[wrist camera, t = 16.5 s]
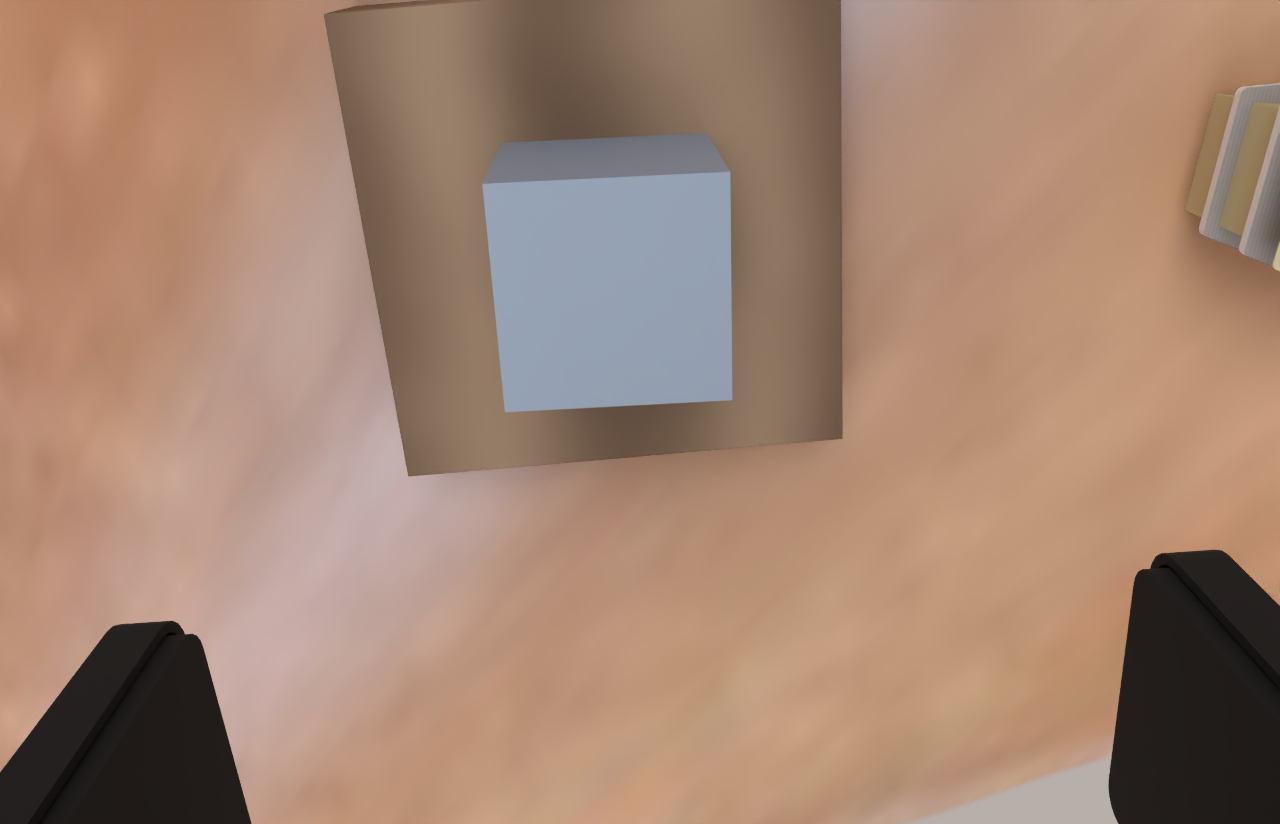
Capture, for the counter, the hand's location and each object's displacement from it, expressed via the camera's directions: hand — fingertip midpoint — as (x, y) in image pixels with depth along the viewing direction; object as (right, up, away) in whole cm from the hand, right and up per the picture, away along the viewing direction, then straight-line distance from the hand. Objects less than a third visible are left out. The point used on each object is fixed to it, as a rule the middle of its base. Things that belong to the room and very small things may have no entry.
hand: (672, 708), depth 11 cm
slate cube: (-1, +7, +17) cm, 18 cm away
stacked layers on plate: (+19, +10, +21) cm, 29 cm away
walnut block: (-1, +9, +20) cm, 22 cm away
